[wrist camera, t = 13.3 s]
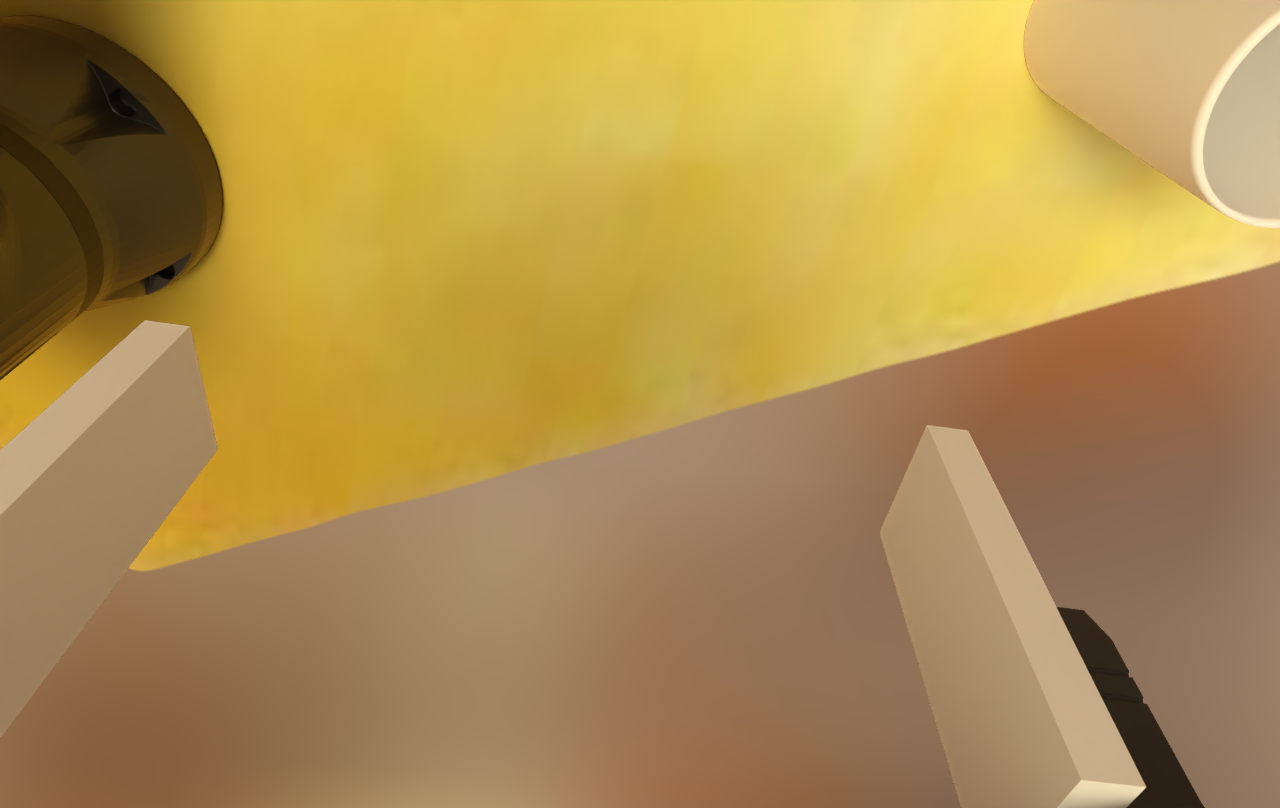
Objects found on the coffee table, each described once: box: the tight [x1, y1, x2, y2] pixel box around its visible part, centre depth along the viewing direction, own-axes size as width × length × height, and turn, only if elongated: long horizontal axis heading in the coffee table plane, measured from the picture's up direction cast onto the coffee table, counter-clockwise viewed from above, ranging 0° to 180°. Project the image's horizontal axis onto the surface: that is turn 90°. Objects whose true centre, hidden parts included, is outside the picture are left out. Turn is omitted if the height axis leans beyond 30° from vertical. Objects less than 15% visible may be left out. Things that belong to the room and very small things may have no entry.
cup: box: [1024, 0, 1280, 228], centre depth 32 cm, size 8×8×16 cm
